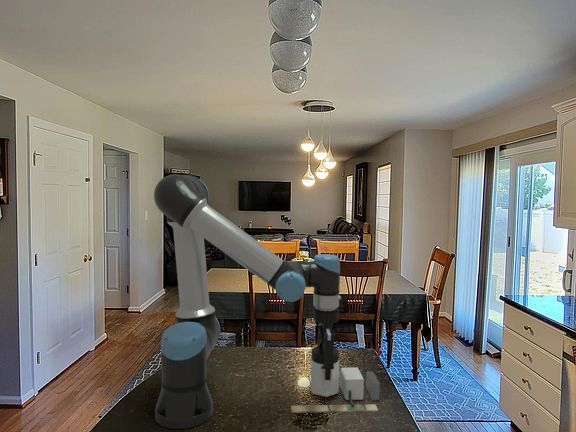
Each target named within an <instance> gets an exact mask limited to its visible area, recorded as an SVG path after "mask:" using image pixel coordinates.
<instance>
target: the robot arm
mask: <svg viewBox="0 0 576 432" xmlns="http://www.w3.org/2000/svg"><path fill="white" fill-rule="evenodd" d="M153 192H154V193H153V199H154V203H155V205H156V207H157V209H158V210H159V211H160V212H161V213H162V214H163V215H164V216H165V217H166V222H167V224H168V225H169V226H171V227H172V230H173V231H172V232H173V241H174V252H175V263H176V264H175V265H176V274H177V284H178V285H177V288H178V297H179V309H178V310H177V311H176V312H175V322H176V323H175V324H172V325H170V326H169V327H167V328H166V329H165V330H164V331H163V333H162V335H161V341H160V350H161V354H160V356H161V389H160V392H159V396H158V399H157V401H156V404H155V408H154V409H155V410H154V414H155V415H154V417H155V422H156V423H157V424H158V425H160V426H161V427H164V428H167V429H170V430H171V429H172V430H184V429H190V428H191V429H192V428H194V427H197V426H200V425H202V424H204V423H205V422H207V421H208V420H209V419H210V418H211V417H212V415H213V410H214V403H213V398H212V396H211V392H210V390H209V388H208V387H209V386H208V384H207V359H208V358H209V356H210V354H211V352H212V351H213V350H214V348H215V347H216V345H218V341H219V338H220V334H221V325H220V322H219V320H218V318H217V317H216V309H215V307H214V306H213V305H211V303H210V296H209V294H210V293H209V283H208V274H207V273H208V272H207V259H206V248H205V240H206V241H207V242H208V243H211V244H212V245H213V246H214V247H215V248H217V249H219V250H220V251H221V252H223V253H224V254H226V255H227V256H228V257H230V258H231V259H232V260H233V261H235V262H236V263H238V264H239V265H241V266H242V267H243V268H245V269H246V270H248V271H249V272H250V273H251V274H253V275H254V276H256V277H257V278H259V279H260V280H261V281H262V282H264V283H265V284H267V285H268V286H269V287H271V288H272V289H273V290H275V292H276V294H277V296H278V297H279V298H280V299H281V300H282V301H284V302H287V303H294V302H296V301H298V300H300V299H301V298H302V297H303V295H304V293H305V290H306V289H307V288H313V293H312V295H313V298H312V299H313V303H312V305H313V313H312V316H313V317H312V319H313V321H315V322H316V323H318V326H317V327H318V329H317V330H318V334H317V346H323V366H321V369H322V390H332V369H334V355H333V347H334V338H335V337H334V336H335V334H334V328H333V325H332V324H335V323H337V322H339V320H340V316H339V315H340V309H339V306H340V300H341V299H342V297H341V295H340V283H341V262H340V261H341V259H340V257H339V256H338V255H335V254H328V253H323V254H316V255H314V259H313V260H311V261H300V260H299V261H297V260H295V261H294V260H292V261H291V260H287V259H286V260H283V258H281V257H280V256H279V255H277V254H276V253H274V252H273V251H271V250H270V249H269V248H267V247H266V246H264V245H263V244H262V243H260V242H259V241H257V240H256V239H255V238H253V236H251V235H249V234H248V233H247V232H246V231H244V230H243V229H241V228H240V227H239V226H237V225H236V224H234V223H233V222H232V221H230V220H229V219H227V218H226V217H225V216H223V215H222V214H220V212H218V211H217V210H215V209H214V208H213V207H212V206H210V205H208V204H209V199H210V193H209V188H208V187H207V185H206V184H205V183H204V181H202V180H201V179H199V177H196V176H194V175H191V174H190V175H189V174H178V173H173V174H169V175H167V176H164V177H162V178H161V179H160V180H159V181H158V183H157V184H156V186H155V187H154V191H153Z"/></svg>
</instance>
